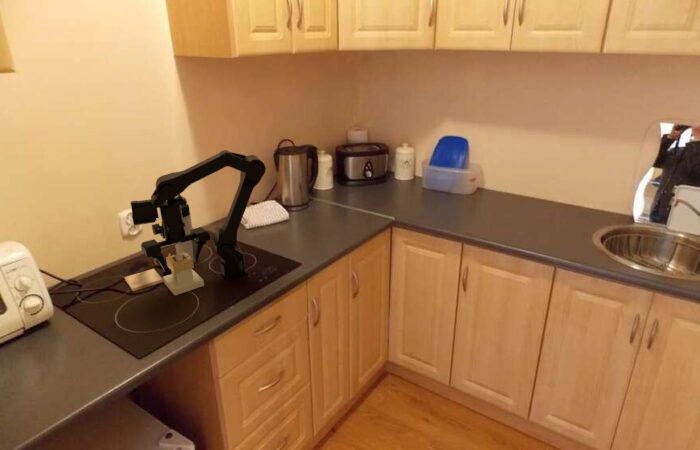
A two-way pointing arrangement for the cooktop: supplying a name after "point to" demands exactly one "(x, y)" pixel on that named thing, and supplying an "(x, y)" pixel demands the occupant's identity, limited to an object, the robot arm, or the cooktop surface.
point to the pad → (143, 279)
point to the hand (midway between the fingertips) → (180, 266)
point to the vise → (183, 280)
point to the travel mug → (186, 232)
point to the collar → (180, 263)
